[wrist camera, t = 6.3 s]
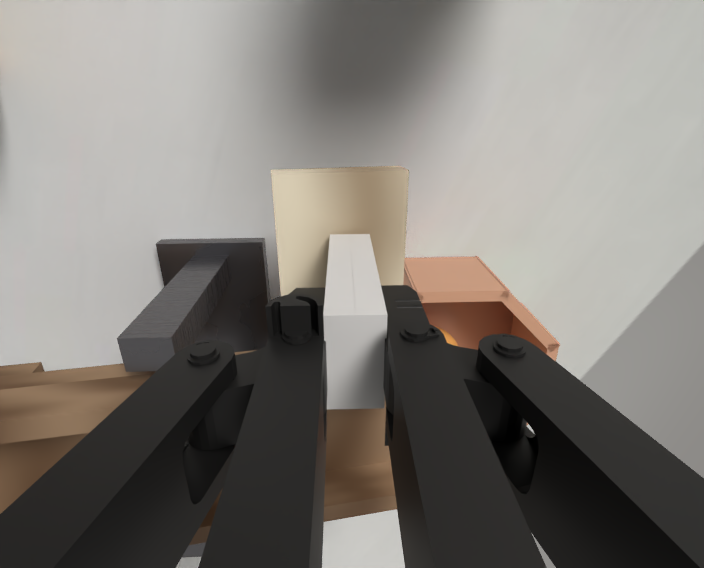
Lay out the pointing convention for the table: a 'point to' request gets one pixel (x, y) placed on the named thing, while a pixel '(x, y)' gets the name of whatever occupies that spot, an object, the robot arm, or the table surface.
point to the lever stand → (201, 305)
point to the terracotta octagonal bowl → (472, 302)
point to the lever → (294, 272)
